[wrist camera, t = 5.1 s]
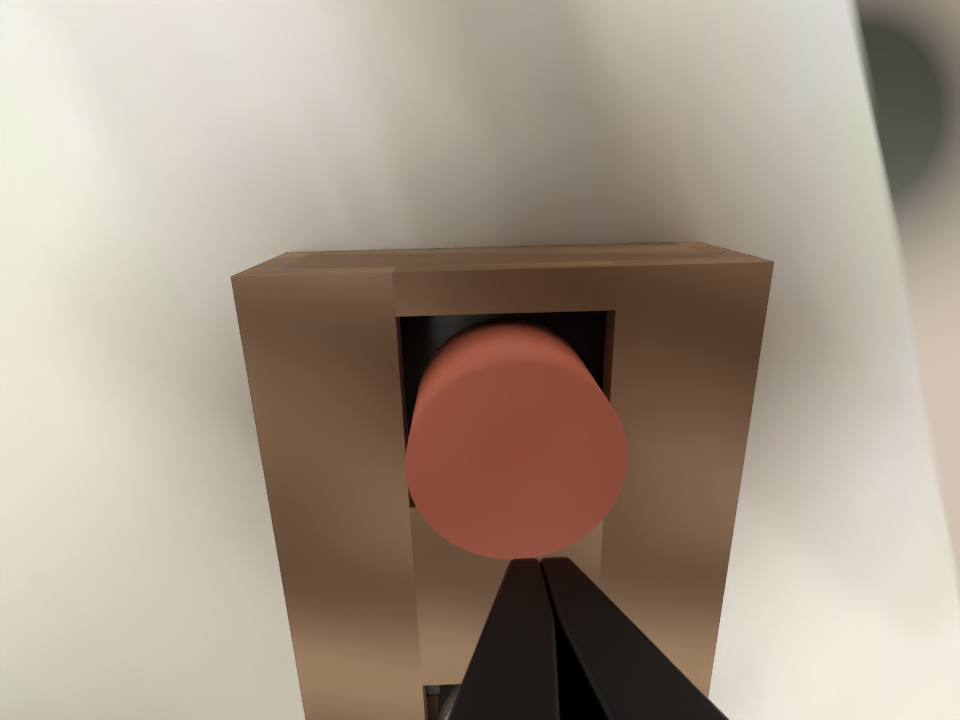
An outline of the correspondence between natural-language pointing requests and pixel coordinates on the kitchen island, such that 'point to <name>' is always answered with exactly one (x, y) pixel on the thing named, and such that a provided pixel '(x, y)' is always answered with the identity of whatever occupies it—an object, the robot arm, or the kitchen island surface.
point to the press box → (384, 437)
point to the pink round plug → (513, 442)
